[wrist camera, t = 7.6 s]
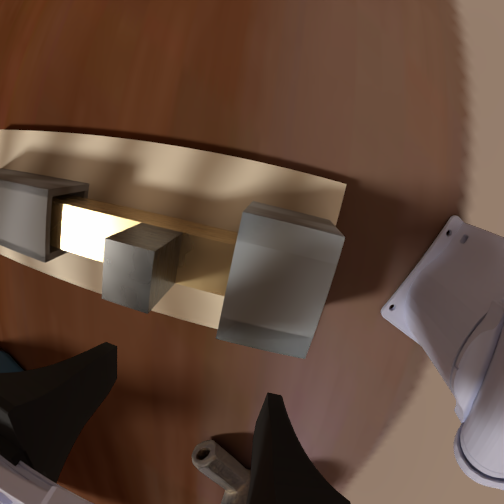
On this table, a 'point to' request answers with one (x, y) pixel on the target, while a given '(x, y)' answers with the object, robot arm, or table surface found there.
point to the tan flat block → (142, 249)
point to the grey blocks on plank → (191, 209)
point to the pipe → (223, 471)
